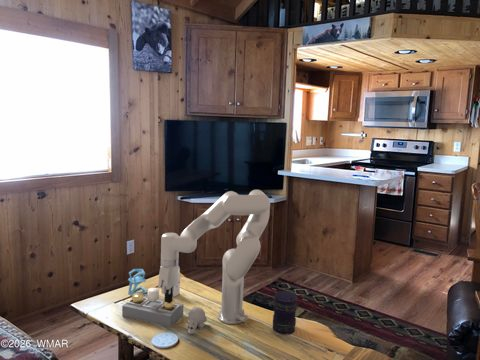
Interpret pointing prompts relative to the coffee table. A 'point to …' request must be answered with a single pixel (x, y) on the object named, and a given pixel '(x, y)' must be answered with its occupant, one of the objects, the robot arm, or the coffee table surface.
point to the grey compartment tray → (152, 312)
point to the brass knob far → (137, 298)
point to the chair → (136, 281)
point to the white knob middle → (153, 294)
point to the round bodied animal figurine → (196, 319)
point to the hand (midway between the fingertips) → (168, 301)
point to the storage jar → (284, 312)
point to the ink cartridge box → (176, 285)
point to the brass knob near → (169, 305)
